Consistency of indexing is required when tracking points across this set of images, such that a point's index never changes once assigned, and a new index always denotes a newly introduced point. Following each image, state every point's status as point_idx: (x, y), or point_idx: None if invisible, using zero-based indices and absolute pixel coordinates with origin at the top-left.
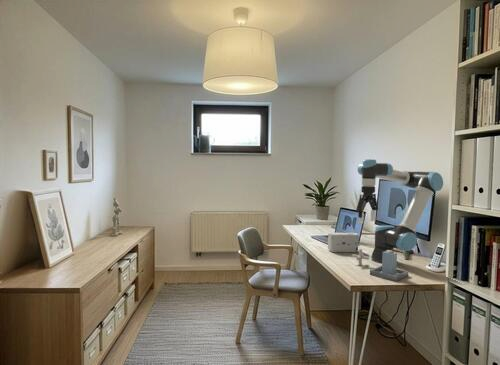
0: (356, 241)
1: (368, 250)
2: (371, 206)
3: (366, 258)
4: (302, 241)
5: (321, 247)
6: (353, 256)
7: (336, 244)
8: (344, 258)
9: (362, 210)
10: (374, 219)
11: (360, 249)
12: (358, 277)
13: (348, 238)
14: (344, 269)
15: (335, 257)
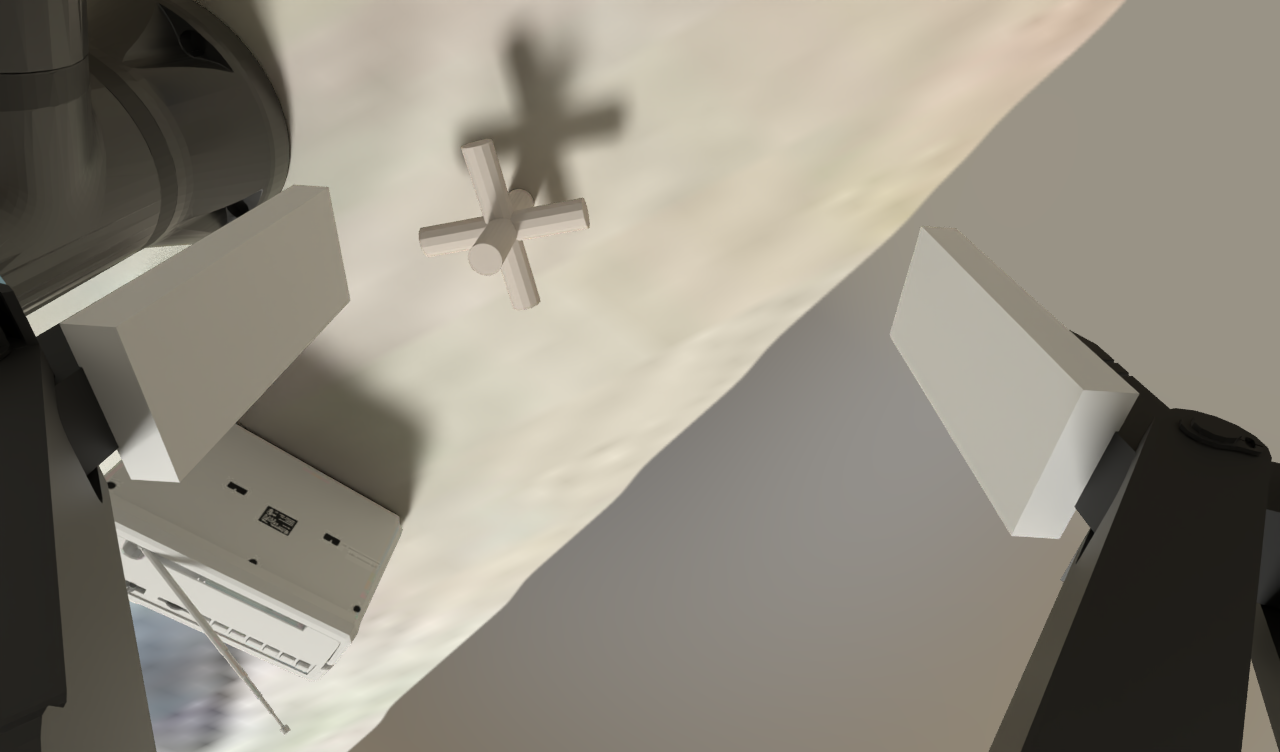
0: None
1: None
2: (110, 567)
3: (497, 158)
4: (359, 729)
5: None
6: (535, 286)
7: (344, 544)
8: (462, 381)
9: (1212, 451)
10: (304, 212)
11: (501, 253)
12: (908, 12)
13: (210, 532)
14: (760, 228)
15: (502, 436)
